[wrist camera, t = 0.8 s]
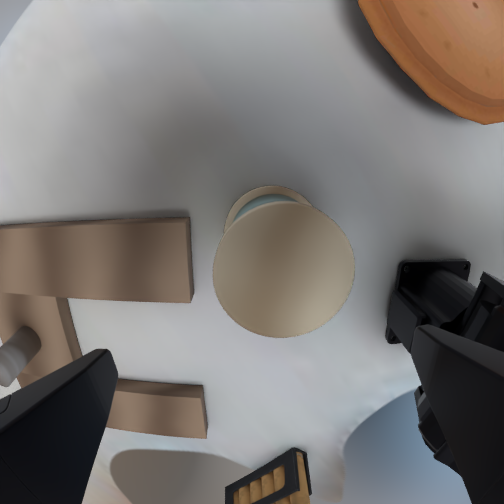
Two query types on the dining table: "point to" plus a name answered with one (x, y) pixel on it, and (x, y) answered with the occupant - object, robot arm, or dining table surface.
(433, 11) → the pie
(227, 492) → the ammunition clip
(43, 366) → the walnut notched board
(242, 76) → the dining table surface
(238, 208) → the thread spool
